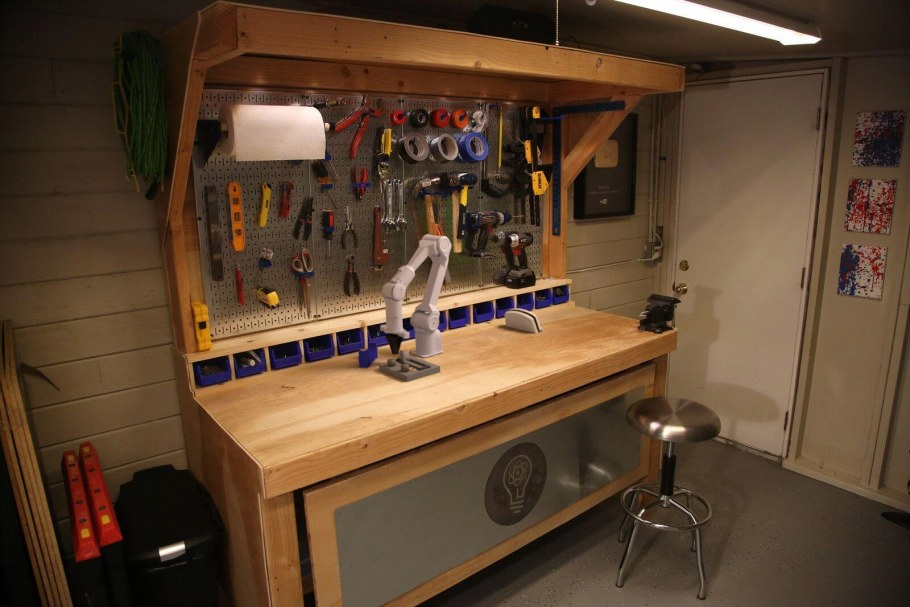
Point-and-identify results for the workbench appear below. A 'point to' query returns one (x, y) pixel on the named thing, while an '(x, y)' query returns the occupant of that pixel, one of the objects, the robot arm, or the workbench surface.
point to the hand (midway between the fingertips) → (395, 353)
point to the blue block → (368, 355)
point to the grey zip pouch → (522, 320)
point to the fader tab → (404, 355)
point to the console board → (409, 368)
